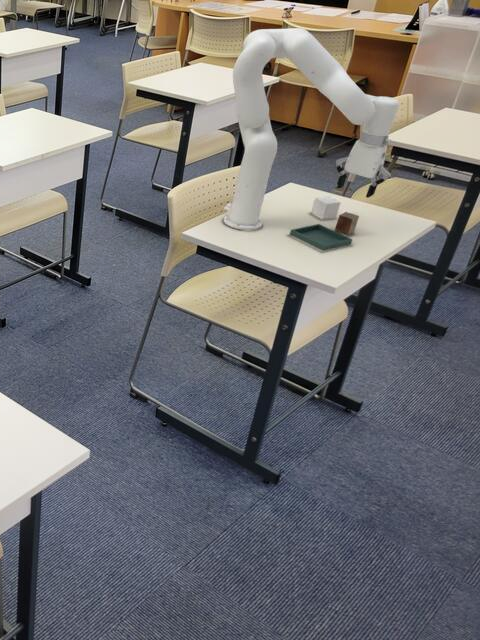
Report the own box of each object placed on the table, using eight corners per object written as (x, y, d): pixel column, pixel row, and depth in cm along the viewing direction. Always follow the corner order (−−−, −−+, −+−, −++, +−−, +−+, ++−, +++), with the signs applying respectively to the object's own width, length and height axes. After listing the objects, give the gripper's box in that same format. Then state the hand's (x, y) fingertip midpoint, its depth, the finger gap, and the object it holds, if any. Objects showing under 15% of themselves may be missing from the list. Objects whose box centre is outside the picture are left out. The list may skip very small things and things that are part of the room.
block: (333, 233, 234) (339, 214, 230) (340, 229, 236) (345, 211, 233) (346, 237, 231) (352, 219, 227) (353, 234, 233) (359, 215, 230)
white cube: (310, 213, 248) (314, 197, 244) (324, 212, 249) (328, 196, 246) (321, 220, 243) (326, 203, 240) (335, 218, 245) (340, 202, 241)
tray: (288, 235, 231) (290, 229, 229) (316, 229, 235) (318, 223, 234) (321, 252, 220) (323, 245, 219) (350, 245, 225) (352, 239, 224)
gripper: (406, 144, 213) (385, 198, 223) (351, 130, 224) (334, 182, 233) (395, 148, 209) (375, 202, 218) (340, 133, 219) (323, 186, 229)
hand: (354, 192), depth 226 cm, fingers open, 9 cm apart
